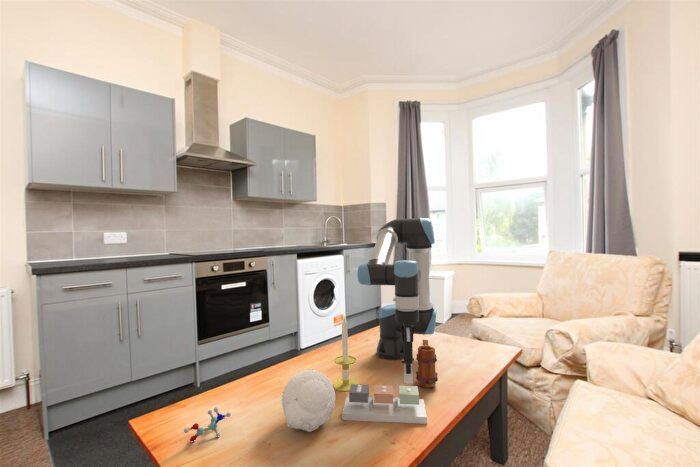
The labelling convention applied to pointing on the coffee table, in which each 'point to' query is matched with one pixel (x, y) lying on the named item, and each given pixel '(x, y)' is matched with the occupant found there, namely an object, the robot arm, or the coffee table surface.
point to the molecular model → (210, 426)
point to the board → (385, 411)
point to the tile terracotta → (383, 394)
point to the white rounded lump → (308, 400)
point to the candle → (344, 363)
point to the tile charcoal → (359, 393)
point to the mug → (426, 365)
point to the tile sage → (409, 395)
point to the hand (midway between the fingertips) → (408, 382)
